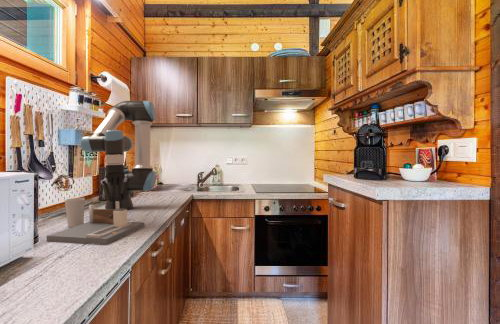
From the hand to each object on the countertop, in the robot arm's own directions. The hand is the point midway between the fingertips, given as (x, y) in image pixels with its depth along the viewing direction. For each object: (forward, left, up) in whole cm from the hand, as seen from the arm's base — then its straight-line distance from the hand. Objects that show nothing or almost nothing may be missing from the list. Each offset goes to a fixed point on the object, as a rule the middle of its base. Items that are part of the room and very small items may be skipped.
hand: (116, 215), depth 127 cm
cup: (+2, -20, -5) cm, 20 cm away
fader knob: (+8, +8, -2) cm, 12 cm away
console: (+12, +1, -5) cm, 13 cm away
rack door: (+5, -2, -2) cm, 6 cm away
